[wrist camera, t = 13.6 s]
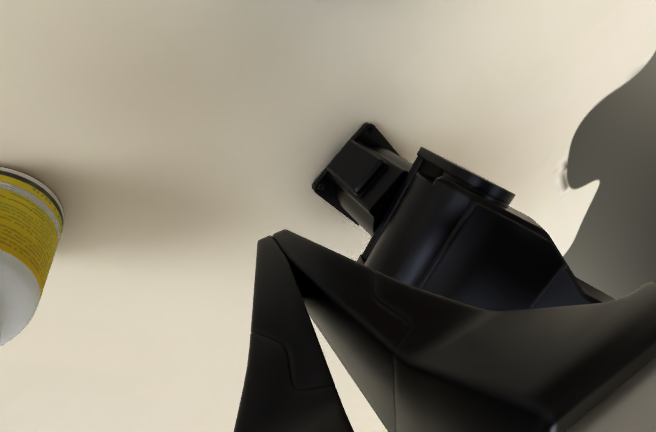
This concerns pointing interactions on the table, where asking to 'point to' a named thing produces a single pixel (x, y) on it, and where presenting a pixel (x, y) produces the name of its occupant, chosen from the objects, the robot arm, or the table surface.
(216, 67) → the table surface
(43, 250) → the supplement bottle
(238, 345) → the table surface
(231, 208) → the table surface
